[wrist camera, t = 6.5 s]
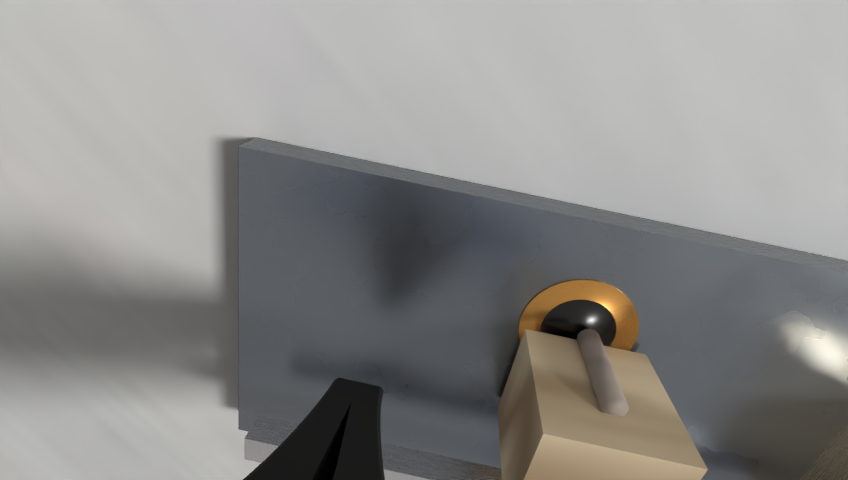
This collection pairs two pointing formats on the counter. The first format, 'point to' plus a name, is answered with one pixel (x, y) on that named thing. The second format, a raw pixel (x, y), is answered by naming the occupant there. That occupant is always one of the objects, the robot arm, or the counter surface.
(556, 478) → the trammel slider
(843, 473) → the trammel beam
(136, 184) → the counter surface
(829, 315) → the bolt plate
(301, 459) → the robot arm
